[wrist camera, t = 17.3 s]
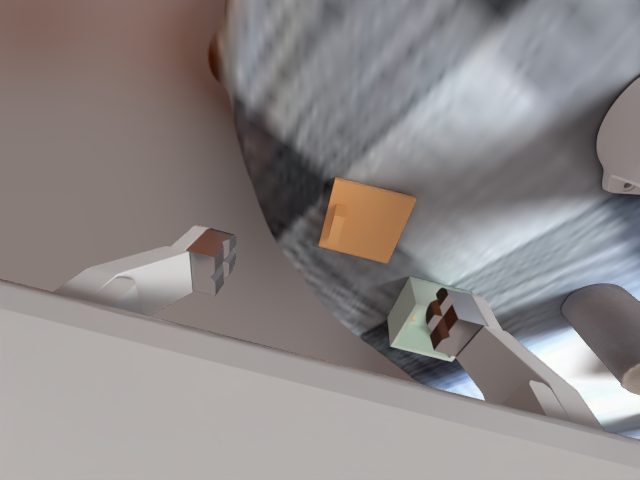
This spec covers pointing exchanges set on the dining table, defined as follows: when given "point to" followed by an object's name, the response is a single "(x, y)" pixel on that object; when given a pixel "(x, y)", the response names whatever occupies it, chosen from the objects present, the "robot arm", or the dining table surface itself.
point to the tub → (415, 318)
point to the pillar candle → (609, 328)
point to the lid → (365, 220)
